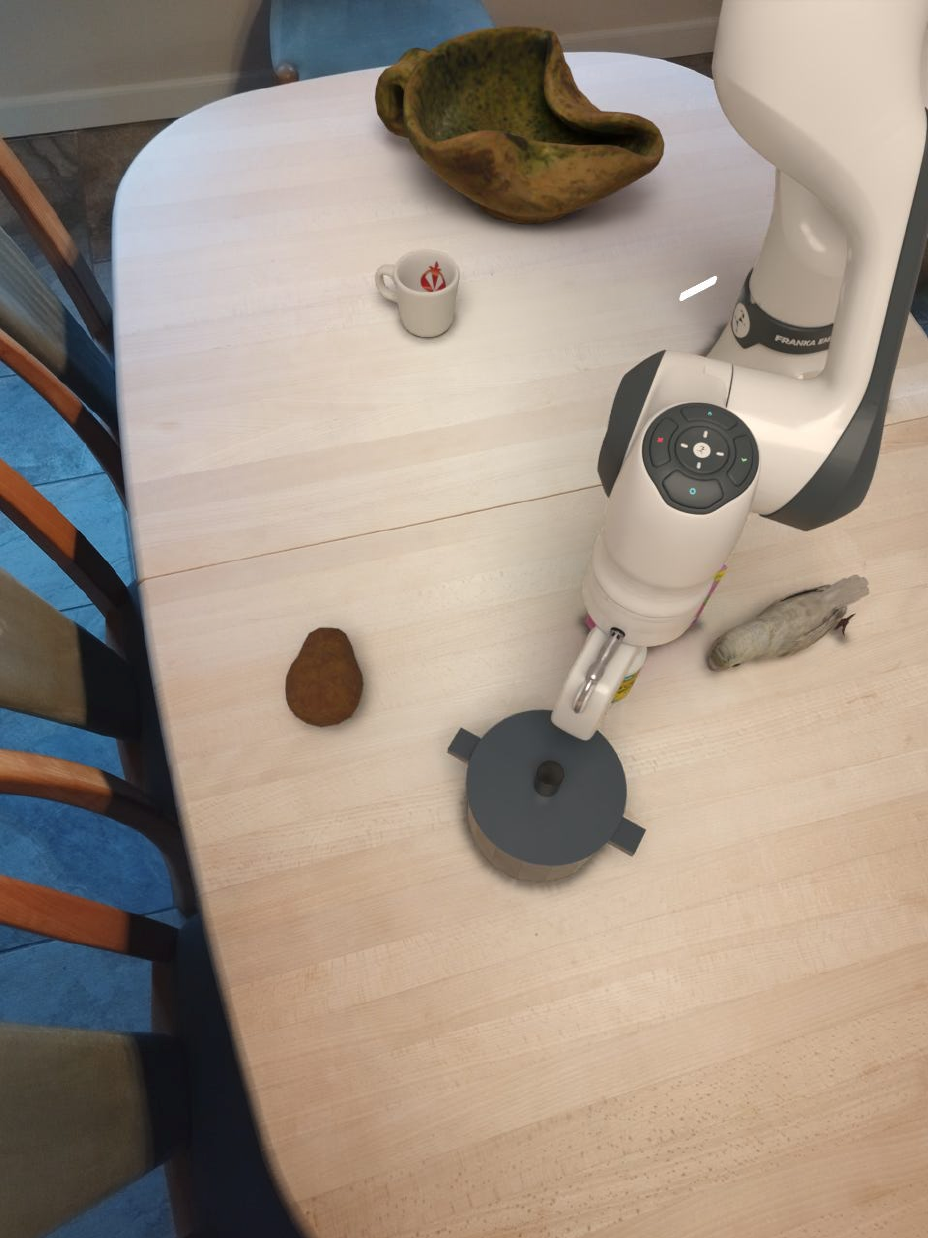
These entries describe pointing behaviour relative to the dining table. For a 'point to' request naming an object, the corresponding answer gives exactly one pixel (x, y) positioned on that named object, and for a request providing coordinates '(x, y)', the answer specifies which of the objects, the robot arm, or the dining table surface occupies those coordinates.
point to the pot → (622, 839)
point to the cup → (422, 290)
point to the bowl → (513, 124)
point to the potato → (324, 679)
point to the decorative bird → (789, 624)
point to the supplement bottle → (630, 675)
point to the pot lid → (545, 790)
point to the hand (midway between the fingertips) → (610, 663)
